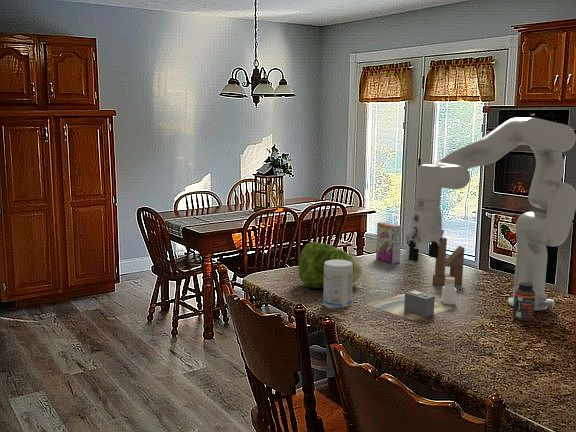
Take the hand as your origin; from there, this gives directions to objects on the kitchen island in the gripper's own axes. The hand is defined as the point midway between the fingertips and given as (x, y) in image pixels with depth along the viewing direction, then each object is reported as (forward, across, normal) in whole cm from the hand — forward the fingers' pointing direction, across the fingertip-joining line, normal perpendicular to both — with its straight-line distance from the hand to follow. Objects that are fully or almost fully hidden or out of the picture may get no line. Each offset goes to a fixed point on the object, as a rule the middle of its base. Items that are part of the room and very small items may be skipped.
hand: (423, 259), depth 181 cm
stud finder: (+17, -2, -1) cm, 17 cm away
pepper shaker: (+18, +16, 0) cm, 24 cm away
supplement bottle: (+18, +24, -22) cm, 37 cm away
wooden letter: (+18, +37, +16) cm, 44 cm away
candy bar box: (+18, +47, +55) cm, 74 cm away
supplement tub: (+19, -15, +22) cm, 32 cm away
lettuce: (+19, -1, +40) cm, 44 cm away
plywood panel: (+18, +1, +5) cm, 19 cm away
